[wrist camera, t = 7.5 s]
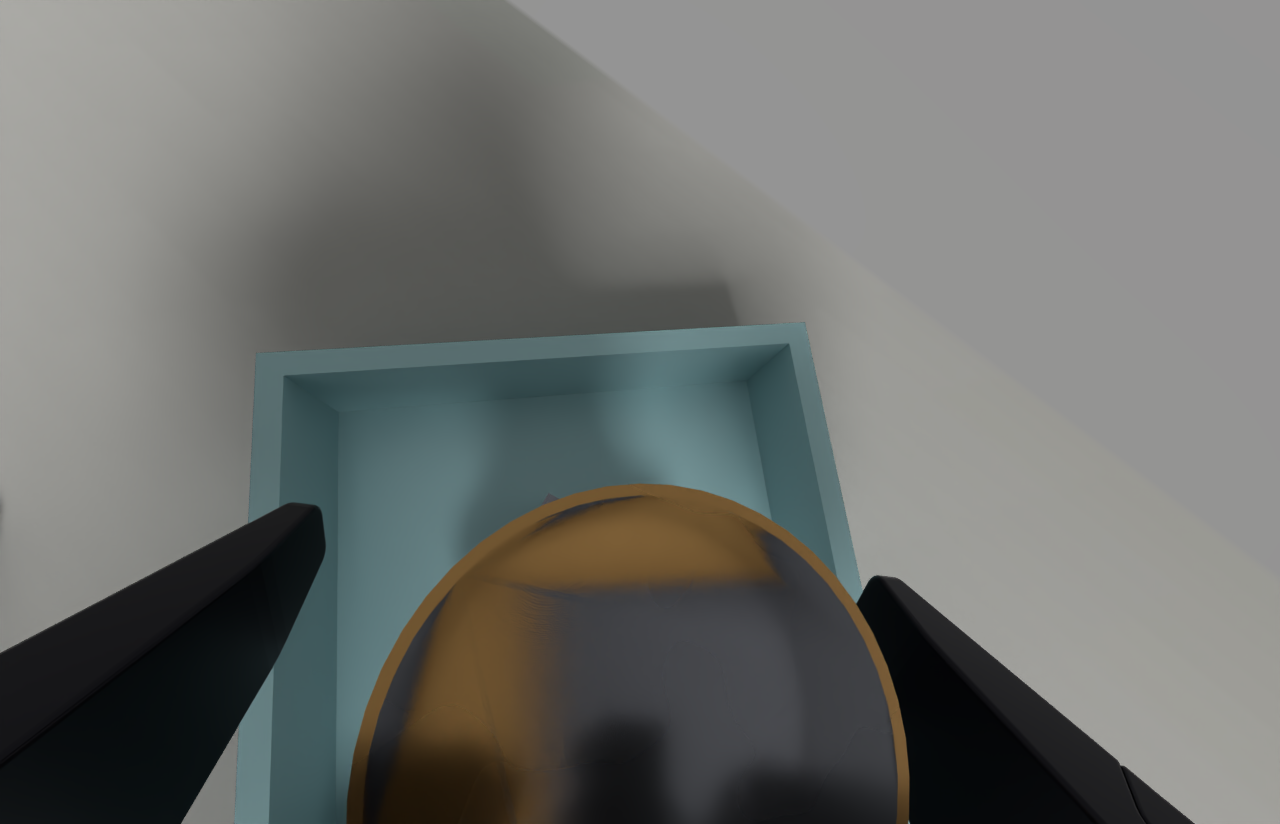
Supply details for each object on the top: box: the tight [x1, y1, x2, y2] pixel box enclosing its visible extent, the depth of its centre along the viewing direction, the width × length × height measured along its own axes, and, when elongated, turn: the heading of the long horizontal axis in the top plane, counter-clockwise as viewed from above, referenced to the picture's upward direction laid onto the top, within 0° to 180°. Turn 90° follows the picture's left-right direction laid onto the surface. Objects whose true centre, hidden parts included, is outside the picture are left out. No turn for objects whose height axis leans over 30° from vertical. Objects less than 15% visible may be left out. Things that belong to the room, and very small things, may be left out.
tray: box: [234, 322, 910, 824], centre depth 14 cm, size 14×14×4 cm
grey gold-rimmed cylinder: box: [346, 483, 909, 824], centre depth 10 cm, size 4×4×12 cm
